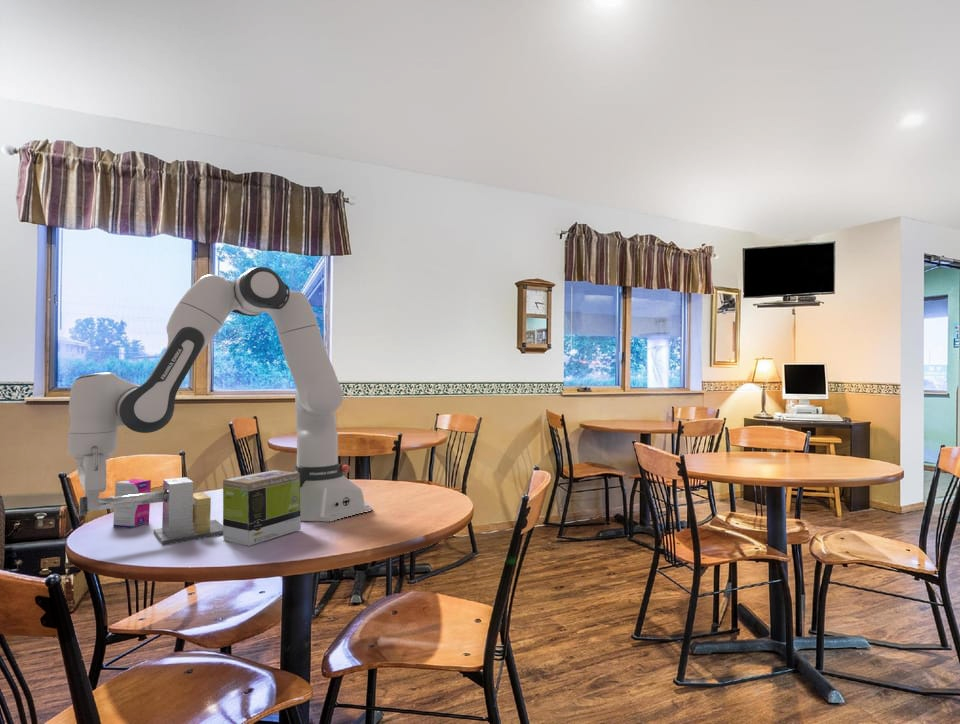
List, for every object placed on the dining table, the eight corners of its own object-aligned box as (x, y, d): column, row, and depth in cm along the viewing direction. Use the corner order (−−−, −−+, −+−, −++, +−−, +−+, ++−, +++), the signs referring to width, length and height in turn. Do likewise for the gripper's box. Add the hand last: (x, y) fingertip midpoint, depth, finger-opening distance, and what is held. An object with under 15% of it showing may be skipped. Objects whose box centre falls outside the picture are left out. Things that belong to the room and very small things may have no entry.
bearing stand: (215, 523, 137) (216, 472, 138) (228, 533, 128) (229, 479, 129) (153, 533, 128) (154, 479, 129) (162, 545, 119) (163, 486, 120)
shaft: (176, 501, 128) (177, 484, 128) (180, 504, 125) (180, 487, 125) (78, 514, 116) (79, 495, 116) (79, 517, 113) (80, 499, 113)
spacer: (202, 523, 133) (202, 492, 134) (210, 530, 127) (210, 497, 128) (189, 525, 132) (189, 493, 132) (196, 532, 125) (197, 499, 126)
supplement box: (131, 528, 133) (133, 483, 133) (112, 527, 134) (113, 482, 134) (150, 522, 138) (151, 479, 139) (131, 521, 140) (132, 478, 140)
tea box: (275, 525, 136) (275, 468, 136) (301, 531, 131) (302, 472, 131) (221, 540, 123) (222, 477, 123) (247, 547, 118) (248, 481, 118)
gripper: (115, 448, 110) (113, 513, 110) (105, 439, 126) (104, 497, 125) (77, 450, 106) (76, 519, 106) (72, 441, 122) (71, 501, 121)
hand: (91, 507), depth 116 cm, fingers open, 5 cm apart
